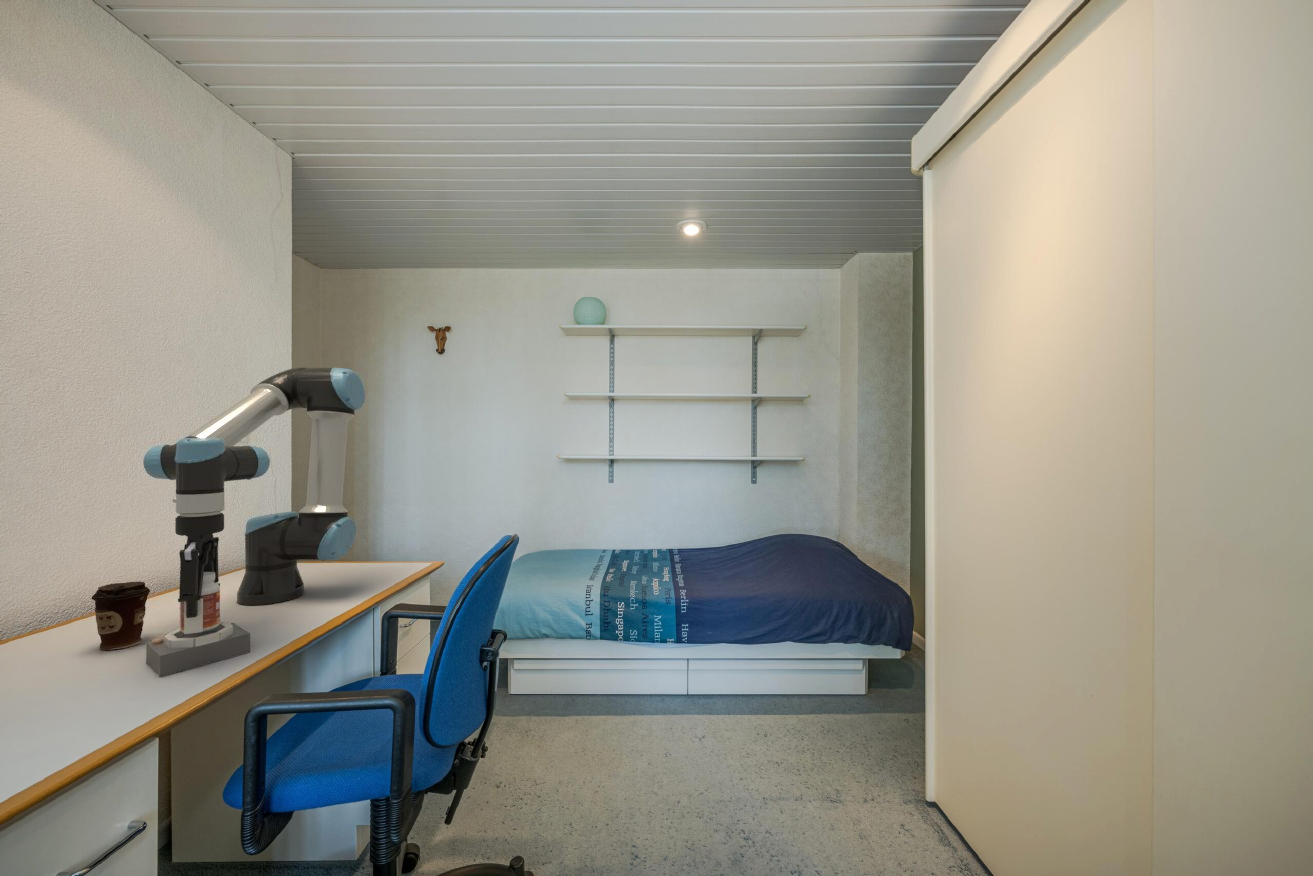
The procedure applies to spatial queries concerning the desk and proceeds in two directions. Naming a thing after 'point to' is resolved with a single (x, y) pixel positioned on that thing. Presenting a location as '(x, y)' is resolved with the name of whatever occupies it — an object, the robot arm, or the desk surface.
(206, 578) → the pill bottle
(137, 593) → the takeaway cup with lid
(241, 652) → the grey block with ring
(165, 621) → the desk surface
